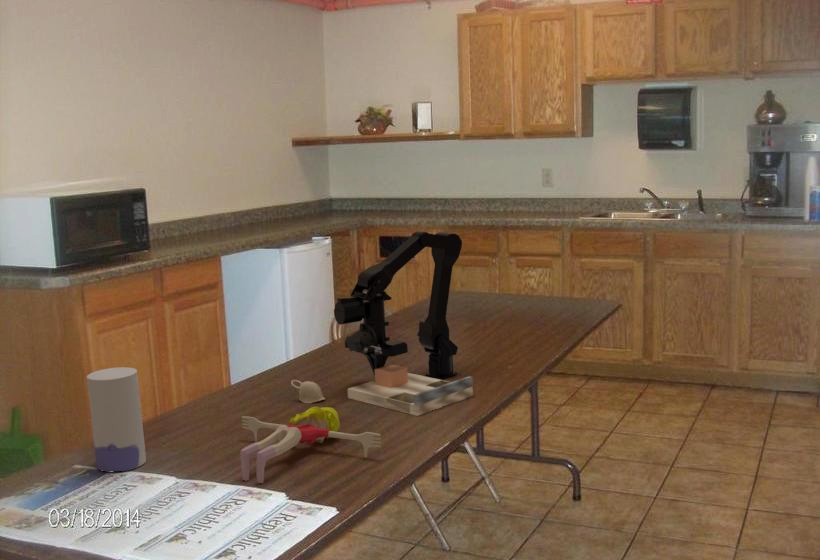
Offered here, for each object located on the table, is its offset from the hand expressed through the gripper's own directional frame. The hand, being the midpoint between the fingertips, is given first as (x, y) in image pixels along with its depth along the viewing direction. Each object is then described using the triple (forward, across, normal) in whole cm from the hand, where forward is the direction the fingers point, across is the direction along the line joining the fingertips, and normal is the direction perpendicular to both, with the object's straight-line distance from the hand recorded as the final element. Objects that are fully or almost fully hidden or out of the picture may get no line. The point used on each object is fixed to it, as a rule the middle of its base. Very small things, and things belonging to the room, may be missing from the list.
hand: (377, 376), depth 234 cm
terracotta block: (+1, +5, 0) cm, 5 cm away
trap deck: (+4, +12, 0) cm, 12 cm away
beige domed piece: (+4, -7, -17) cm, 19 cm away
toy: (+4, +23, -45) cm, 51 cm away
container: (+4, -3, -71) cm, 71 cm away
